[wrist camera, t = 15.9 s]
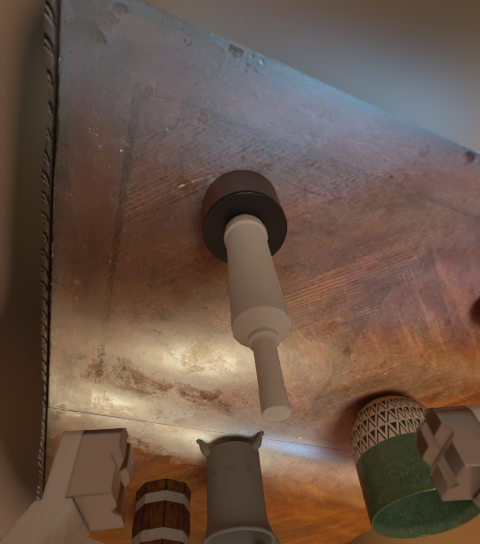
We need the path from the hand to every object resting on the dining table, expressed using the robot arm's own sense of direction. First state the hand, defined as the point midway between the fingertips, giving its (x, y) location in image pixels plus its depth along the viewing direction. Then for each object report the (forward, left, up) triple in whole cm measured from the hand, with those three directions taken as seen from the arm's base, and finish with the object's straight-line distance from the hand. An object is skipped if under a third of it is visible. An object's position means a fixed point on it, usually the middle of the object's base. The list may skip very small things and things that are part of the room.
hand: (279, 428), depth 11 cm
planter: (+71, -2, -42) cm, 83 cm away
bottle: (+14, -5, -35) cm, 38 cm away
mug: (+76, -62, -42) cm, 107 cm away
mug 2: (+66, -35, -42) cm, 86 cm away
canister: (+14, -5, -42) cm, 44 cm away
